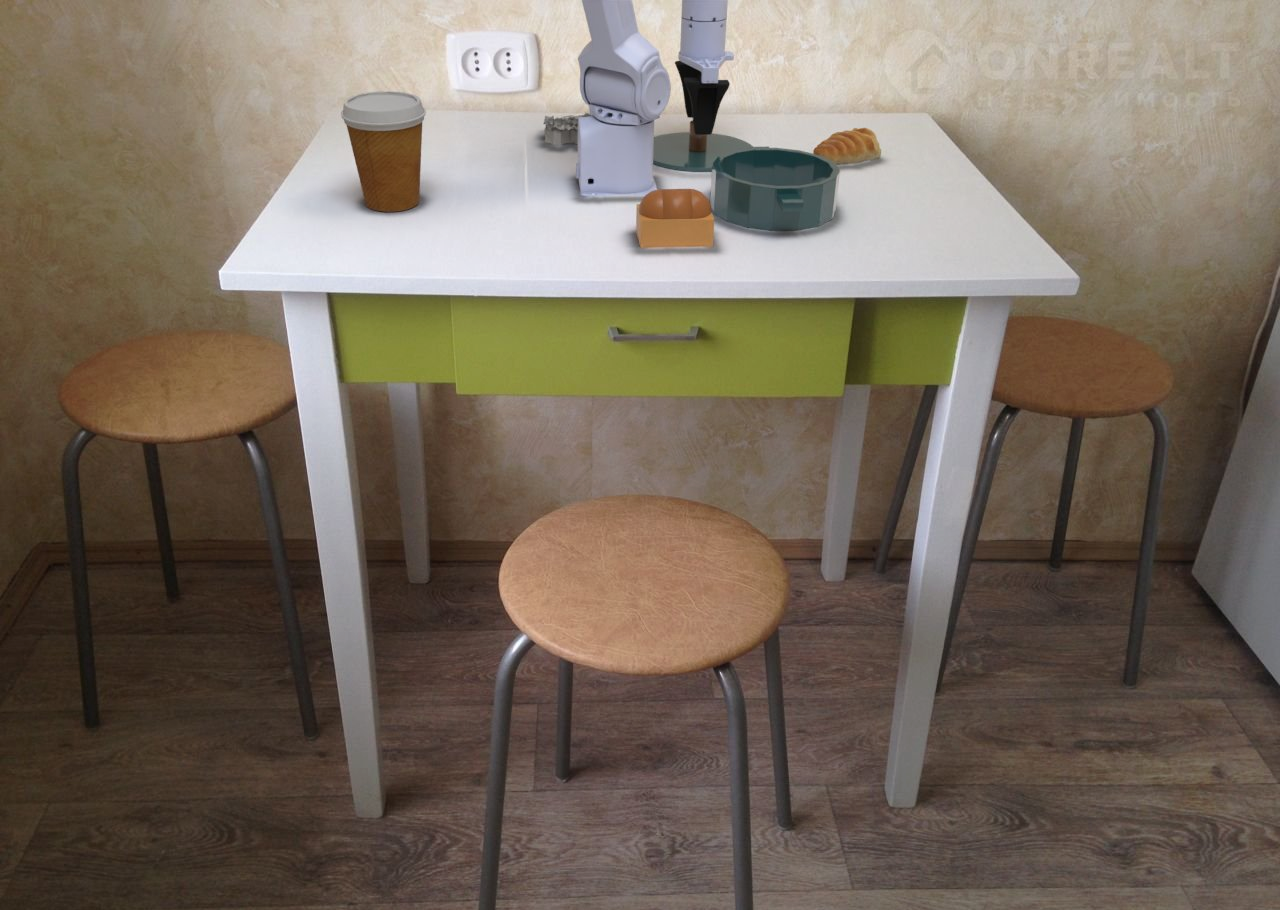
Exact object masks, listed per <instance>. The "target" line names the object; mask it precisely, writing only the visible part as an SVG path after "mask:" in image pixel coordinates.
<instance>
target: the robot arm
mask: <svg viewBox="0 0 1280 910" xmlns="http://www.w3.org/2000/svg"><path fill="white" fill-rule="evenodd" d="M728 2H729V1H728V0H681V18H680V19H681V20H680V42H679V43H680V46H679V51H678V57H677V59H678V60H676V61H675V62H674V64H675V65H674V66H675V67H676V69H677V71H678V72H677V73H678V75H679V77H680V82H681V86H682V91H683V99H684V107H685V112H686V113H685V114H686V117H687V118H689V119H691V118H692V120H693V125H694V130H695V134H696V135H711V134H712V133H713V132H714V131H713V130H714V128H715V124H716V119H717V116H718V112H719V109H720V105H721V103H722V101H723V98H724V96H725V94H726V93H727V92H728V90H729V88H730V85H731V83H730V81H729V79H719V75H720V69H721V68H722V66H723V65H724V64H725V62H726V61H734V59H735V54H734V52H732V51H728V50H727V51H726V39H727V38H726V37H727V19H728V5H729V4H728ZM581 3H582V7H583V11H584V15H585V19H586V23H587V27H588V31H589V35H590V39H591V40H590V41H589V42H588V43H587V44H586V45H585V46H584V47H583V49H582V50H581V51H580V53H579V55H578V57H577V61H578V65H579V72H580V73H579V92H580V95H581V98H582V101H583V102H584V103H585V104H586V105H587V106H588V107H589V113H590V114H591V115H593V116H588V117H580V118H578V144H577V163H575V178H576V179H578V185H579V192H580V196H583V197H596V196H598V197H602V196H603V197H604V196H645V195H647V194H648V193H649V192H651V191H654V190H658V187H657V184H656V181H655V178H654V164H653V147H654V137H655V120H657V119H660V117H661V115H662V113H663V112H664V111H665V110H666V108H667V105H668V103H669V100H670V97H671V89H672V88H671V87H672V85H671V80H670V74H669V73H668V71H667V69H666V68H665V66H664V65H663V63H662V60H661V55H660V51H659V50H658V49H657V48H656V47H655V46H654V45H653V44H652V43H651V42H650V41H649V40H647V39H646V37H645V36H643V35H642V33H640V31H639V27H638V23H637V17H636V13H635V9H634V3H633V0H581Z"/></svg>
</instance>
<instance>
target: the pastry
mask: <svg viewBox="0 0 1280 910" xmlns="http://www.w3.org/2000/svg"><path fill="white" fill-rule="evenodd" d="M812 151H813V153H812V154H816V155H820V156H822V157H824V158H826V159H828V160H830V161H832V162H834V163H835V164H836V166H837V165H853V164H859V163H861V162H868V161H873V160H877V159H879V158H880V157H881V156H882V155H881V154H882V149H881V147H880V142H879V141H878V138H877V134H876V133H875V132H874V131H873V130H871V129H870V128H867V127H861V128H860V127H859V128H858V127H854V128H853V129H852V130H843V131H837V132H834V133H832V134H831V135H830V136H829V137H828V138H826V139H824V140H822V141H821V142H820V143H819V144H817V146H816V147H814V149H813V150H812Z"/></svg>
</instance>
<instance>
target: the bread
mask: <svg viewBox="0 0 1280 910" xmlns="http://www.w3.org/2000/svg"><path fill="white" fill-rule="evenodd" d="M635 211H636V213H635V214H636V217H635V232H636V236H637V239H638V243H639V244H638V245H639V247H640V249H645V248H646V249H647V248H651V249H653V248H654V249H655V248H699V247H700V248H701V247H703V248H704V247H714V236H715V235H714V234H715V217H714V215H713V213H712V212H713V211H712V208H711V205H710V199H709V198H708V197H707V196H706V194H704V193H703V192H702V191H700V190H699V189H698V190H697V189H695V188H659V189H658V188H657V190H654V191H651V192H649V193H648V194H647V195H644V196H643V198H642V199H641V201H640V203H637V204H636V209H635Z"/></svg>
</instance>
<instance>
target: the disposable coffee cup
mask: <svg viewBox="0 0 1280 910" xmlns="http://www.w3.org/2000/svg"><path fill="white" fill-rule="evenodd" d="M342 108H343V109H342V111H341V112H340V117H341V119H342V120H343V122H344V125H345V126H346V130H347V133H348V137H349V141H350V145H351V149H352V153H353V158H354V161H355V165H356V169H357V174H358V177H359V183H360V186H361V190H362V196H363V200H364V203H365V206H366V208H369V209H370V210H373V211H376V212H377V211H378V212H385V213H386V212H388V213H391V212H393V213H394V212H402V211H406V210H411V209H412V208H415V207H417V206H418V205H419V204H420V191H421V189H420V188H421V187H420V185H421V167H422V164H421V163H422V143H423V142H422V141H423V136H422V135H423V122H424V120H425V116H426V114H427V110H426V109H425V107H423V103H422V99H421V98H420V97H419V96H418V95H415V94H413V93H410V92H404V91H390V90H385V91H381V90H379V91H368V92H362V93H357V94H354V95H352V96H349V97H347V98H346V99H344V100H343V107H342Z"/></svg>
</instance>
